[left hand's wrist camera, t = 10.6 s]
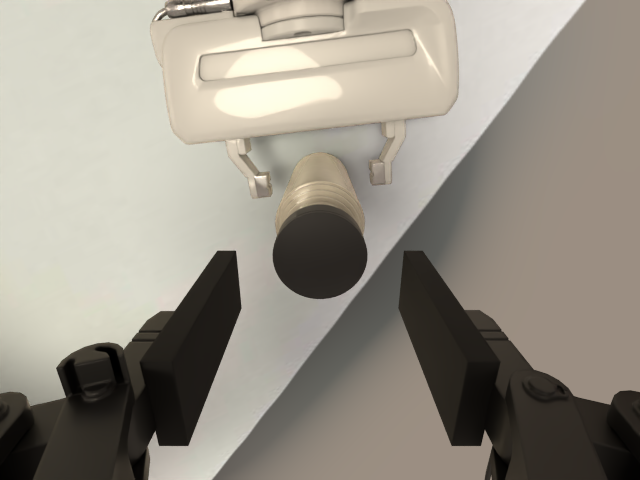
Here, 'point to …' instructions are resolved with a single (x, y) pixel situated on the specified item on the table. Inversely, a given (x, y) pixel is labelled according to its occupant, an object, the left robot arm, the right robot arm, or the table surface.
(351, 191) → the bottle
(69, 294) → the table surface
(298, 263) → the cap
